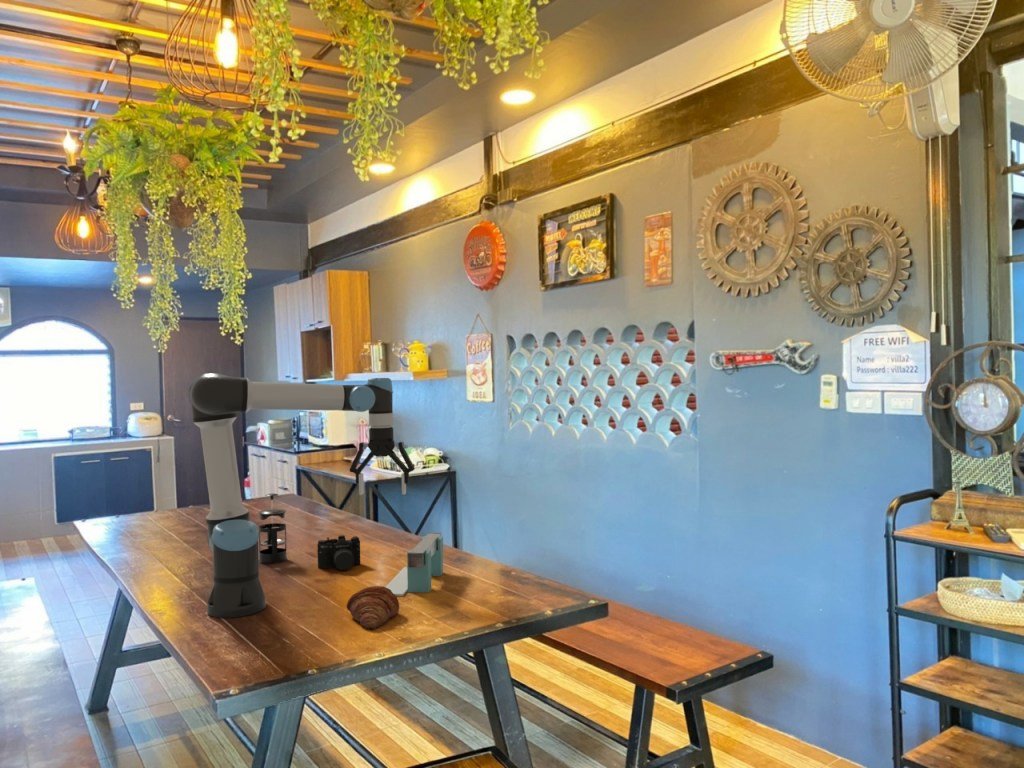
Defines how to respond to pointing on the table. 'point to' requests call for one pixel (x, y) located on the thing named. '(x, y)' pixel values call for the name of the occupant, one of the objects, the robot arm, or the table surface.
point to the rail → (423, 550)
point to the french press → (272, 537)
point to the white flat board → (399, 583)
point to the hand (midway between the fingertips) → (382, 494)
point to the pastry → (373, 606)
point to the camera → (338, 553)
